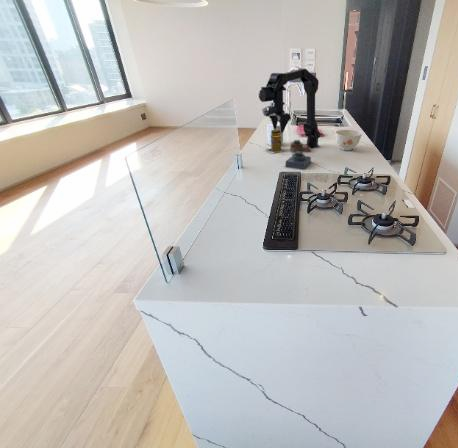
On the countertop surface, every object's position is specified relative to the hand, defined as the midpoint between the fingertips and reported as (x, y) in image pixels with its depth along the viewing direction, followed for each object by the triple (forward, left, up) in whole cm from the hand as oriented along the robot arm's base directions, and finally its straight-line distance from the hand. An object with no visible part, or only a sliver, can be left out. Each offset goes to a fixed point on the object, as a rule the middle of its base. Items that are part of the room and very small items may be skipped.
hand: (278, 130), depth 157 cm
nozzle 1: (-15, -3, -10) cm, 18 cm away
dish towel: (-48, -35, -14) cm, 61 cm away
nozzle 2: (-1, +18, -10) cm, 21 cm away
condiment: (-3, -10, -14) cm, 18 cm away
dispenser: (-1, +18, -14) cm, 23 cm away
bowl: (-43, +11, -14) cm, 47 cm away
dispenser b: (-17, -2, -14) cm, 22 cm away
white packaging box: (-10, -21, -14) cm, 27 cm away
